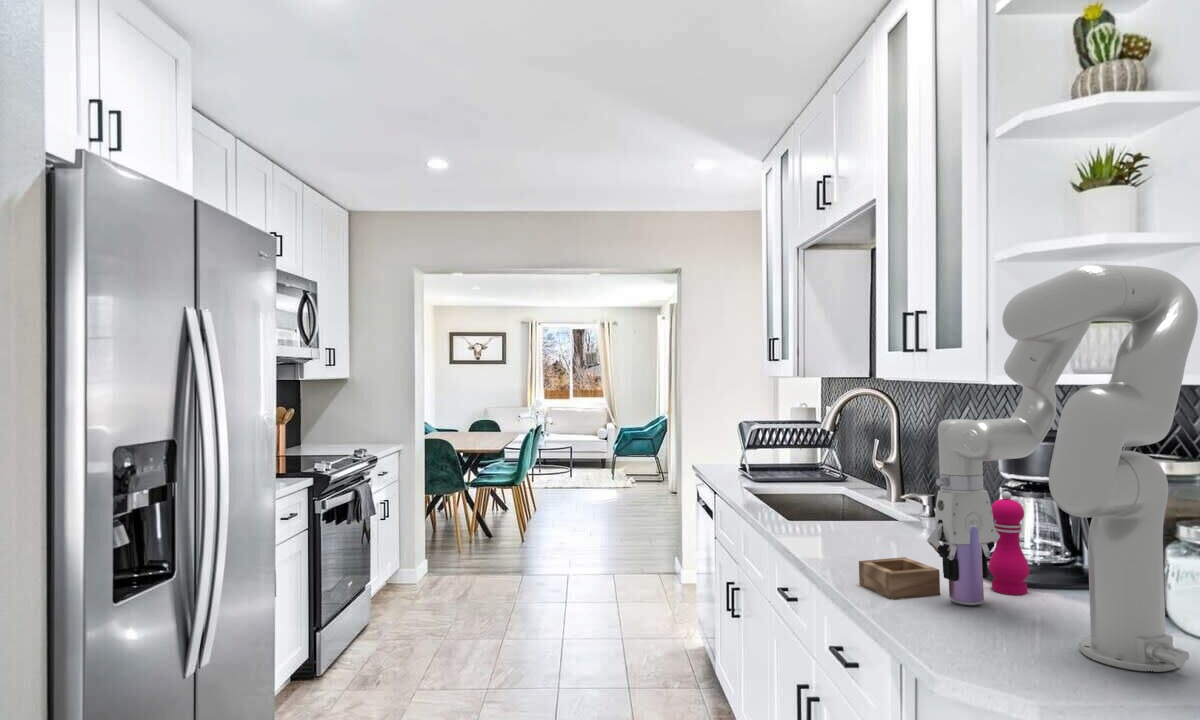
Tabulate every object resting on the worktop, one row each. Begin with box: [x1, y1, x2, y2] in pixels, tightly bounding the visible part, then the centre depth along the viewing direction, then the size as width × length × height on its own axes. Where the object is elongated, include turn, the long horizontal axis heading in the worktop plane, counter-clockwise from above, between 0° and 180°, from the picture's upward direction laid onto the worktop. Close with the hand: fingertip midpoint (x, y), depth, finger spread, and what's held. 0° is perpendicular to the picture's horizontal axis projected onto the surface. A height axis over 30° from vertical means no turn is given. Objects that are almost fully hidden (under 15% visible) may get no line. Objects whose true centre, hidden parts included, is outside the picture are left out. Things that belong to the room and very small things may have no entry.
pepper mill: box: [988, 491, 1030, 596], centre depth 153 cm, size 7×7×20 cm
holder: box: [858, 556, 941, 600], centre depth 155 cm, size 11×11×5 cm
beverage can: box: [948, 525, 985, 606], centre depth 145 cm, size 6×6×15 cm
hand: (965, 577), depth 145 cm, fingers closed on beverage can, 5 cm apart
